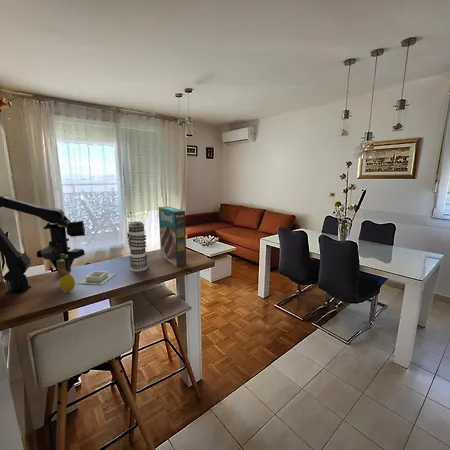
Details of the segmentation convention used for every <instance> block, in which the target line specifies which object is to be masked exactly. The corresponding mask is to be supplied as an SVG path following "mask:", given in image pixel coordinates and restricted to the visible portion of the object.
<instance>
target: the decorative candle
mask: <svg viewBox="0 0 450 450" xmlns="http://www.w3.org/2000/svg"><path fill="white" fill-rule="evenodd" d="M127 228H128V232H127V233H126V235H127V239H128V240H127V241H128V242H127V243H128V248H129V250H130V253H129V255H130V256H129V263H130V264H129V266H130V270H131V271H132V272H142V271H146V270H147V269H148V255H147V252H146V248H147V241H146V240H147V238H146V237H147V235H146V232H145V231H146V230H145V224H144V222H142V221H139V220H138V221H131V222H130V223H129V224H128V225H127Z"/></svg>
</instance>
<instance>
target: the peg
mask: <svg viewBox="0 0 450 450" xmlns="http://www.w3.org/2000/svg"><path fill="white" fill-rule="evenodd" d="M56 264H57V270H56V272H57V271H58V273H57V277H58V278H62V277H63V276H65V275H70V274H71V273H70V272H69V271H68V272H67V269H66V263H65V261H64V260H63V259H61V260H58V261H56ZM70 276H71V275H70Z"/></svg>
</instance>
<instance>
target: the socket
mask: <svg viewBox="0 0 450 450" xmlns="http://www.w3.org/2000/svg"><path fill="white" fill-rule="evenodd" d="M116 275H117V274H116V273H109V272H108V271H106V270H105V271H104V270H94V271H92V272H91V273H89V274H88V275H86V276H85V277H84V278H83V279H81V280H80V281H78V282H76V284H77V285H91V286H92V285H94V286H103V285H104V284H105V283H107V282H108V281H109V280H111V279H112V278H113V277H114V276H116Z"/></svg>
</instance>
